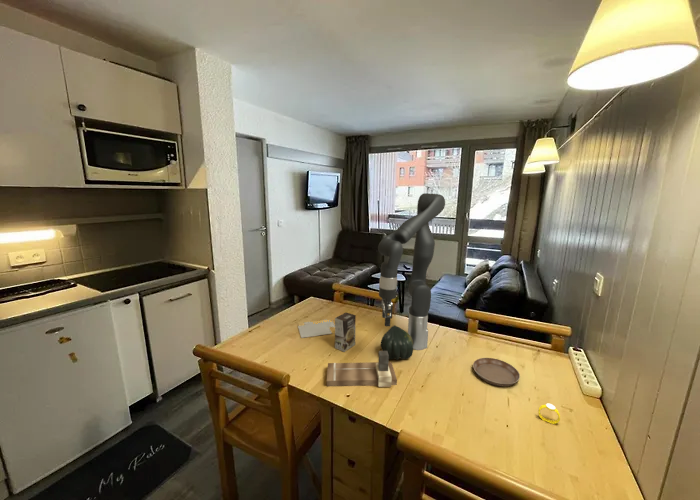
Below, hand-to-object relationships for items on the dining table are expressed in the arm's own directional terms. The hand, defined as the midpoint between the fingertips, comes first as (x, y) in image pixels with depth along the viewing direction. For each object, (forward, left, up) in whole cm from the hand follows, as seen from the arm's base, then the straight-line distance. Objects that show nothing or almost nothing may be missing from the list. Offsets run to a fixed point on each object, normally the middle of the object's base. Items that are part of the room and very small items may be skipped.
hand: (385, 321), depth 126 cm
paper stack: (+31, -38, -21) cm, 54 cm away
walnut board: (+11, +9, -20) cm, 25 cm away
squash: (-7, -6, -21) cm, 23 cm away
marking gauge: (+2, +12, -20) cm, 23 cm away
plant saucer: (-46, +10, -21) cm, 51 cm away
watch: (-51, +35, -21) cm, 65 cm away
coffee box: (+17, -15, -21) cm, 31 cm away
